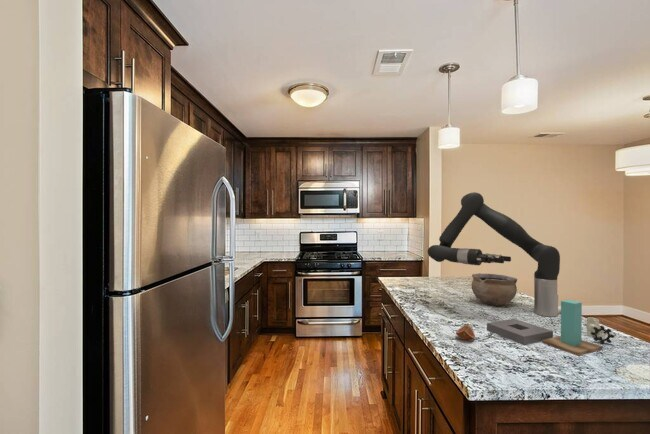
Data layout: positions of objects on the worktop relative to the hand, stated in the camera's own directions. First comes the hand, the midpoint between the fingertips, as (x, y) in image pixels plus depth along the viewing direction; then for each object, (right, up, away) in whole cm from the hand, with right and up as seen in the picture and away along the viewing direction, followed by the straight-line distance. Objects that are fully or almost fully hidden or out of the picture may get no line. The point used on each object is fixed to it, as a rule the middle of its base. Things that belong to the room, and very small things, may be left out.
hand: (507, 260), depth 138 cm
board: (+10, -28, -23) cm, 38 cm away
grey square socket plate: (-2, -28, -12) cm, 31 cm away
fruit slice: (-26, -28, -18) cm, 42 cm away
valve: (+26, -28, -16) cm, 41 cm away
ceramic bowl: (+12, -28, +34) cm, 46 cm away
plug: (+10, -27, -23) cm, 37 cm away
